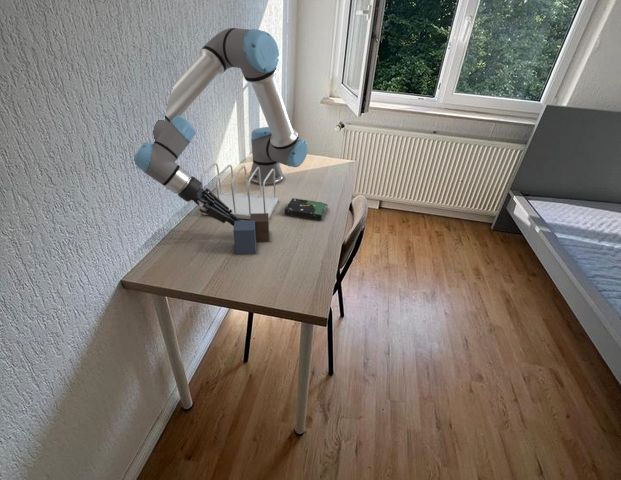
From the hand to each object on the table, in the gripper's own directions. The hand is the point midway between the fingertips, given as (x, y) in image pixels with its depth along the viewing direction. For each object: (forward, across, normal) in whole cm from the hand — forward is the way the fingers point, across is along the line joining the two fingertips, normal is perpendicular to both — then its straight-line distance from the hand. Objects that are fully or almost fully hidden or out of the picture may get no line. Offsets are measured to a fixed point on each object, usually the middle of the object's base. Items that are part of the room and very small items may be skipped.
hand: (243, 227), depth 118 cm
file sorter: (+3, -22, -3) cm, 22 cm away
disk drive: (+20, -15, +14) cm, 29 cm away
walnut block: (+7, +1, +1) cm, 7 cm away
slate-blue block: (+3, +7, -2) cm, 8 cm away
